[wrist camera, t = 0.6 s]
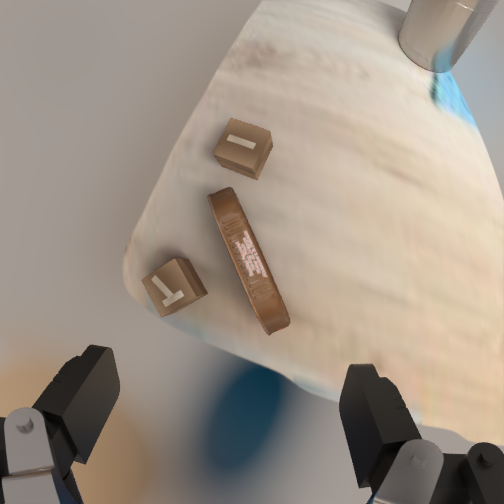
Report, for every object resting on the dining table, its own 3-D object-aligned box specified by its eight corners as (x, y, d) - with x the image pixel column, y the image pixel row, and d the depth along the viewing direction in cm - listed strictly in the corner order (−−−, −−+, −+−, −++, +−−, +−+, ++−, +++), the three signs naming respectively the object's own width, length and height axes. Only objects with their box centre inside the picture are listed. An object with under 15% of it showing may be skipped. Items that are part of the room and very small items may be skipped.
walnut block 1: (238, 133, 37) (230, 117, 32) (272, 146, 36) (269, 130, 32) (222, 166, 37) (212, 153, 32) (257, 180, 36) (252, 168, 32)
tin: (216, 205, 37) (194, 188, 28) (241, 193, 36) (226, 172, 28) (269, 328, 35) (261, 346, 27) (295, 317, 35) (295, 332, 27)
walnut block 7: (188, 259, 37) (174, 257, 32) (208, 293, 36) (195, 296, 32) (158, 278, 37) (140, 280, 33) (176, 311, 37) (160, 317, 32)
